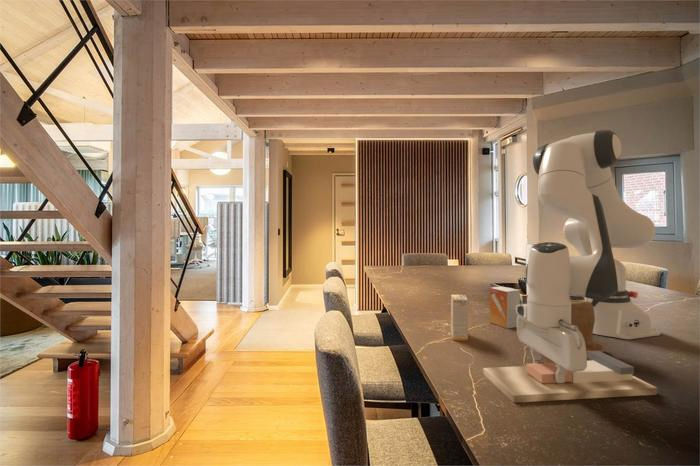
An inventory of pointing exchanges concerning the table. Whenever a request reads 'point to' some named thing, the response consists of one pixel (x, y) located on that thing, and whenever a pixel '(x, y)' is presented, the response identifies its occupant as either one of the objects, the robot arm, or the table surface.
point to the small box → (504, 306)
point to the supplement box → (459, 317)
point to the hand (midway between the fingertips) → (548, 374)
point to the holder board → (560, 387)
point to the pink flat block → (545, 372)
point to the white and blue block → (603, 369)
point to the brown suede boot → (585, 323)
